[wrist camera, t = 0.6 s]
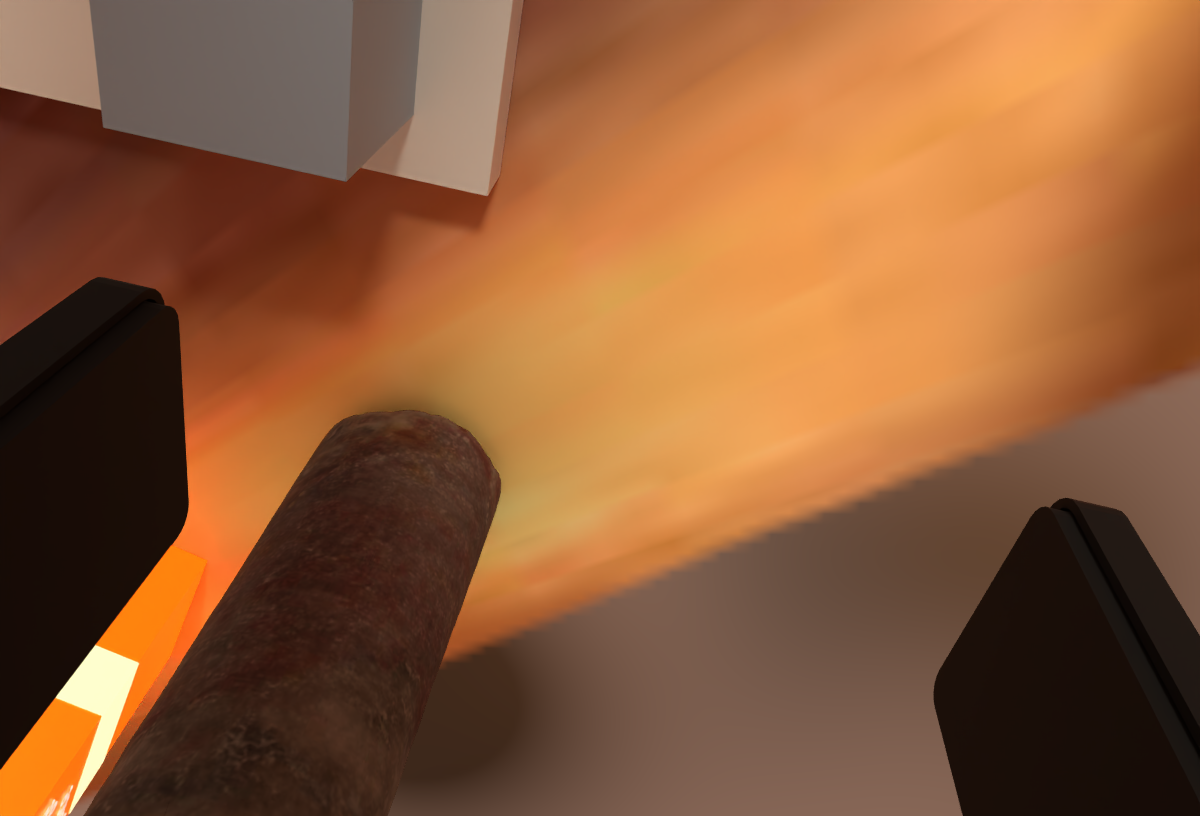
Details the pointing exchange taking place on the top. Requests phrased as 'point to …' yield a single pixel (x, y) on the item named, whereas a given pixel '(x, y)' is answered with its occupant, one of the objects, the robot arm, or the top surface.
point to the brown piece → (322, 635)
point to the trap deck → (416, 151)
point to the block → (261, 76)
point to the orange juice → (100, 695)
